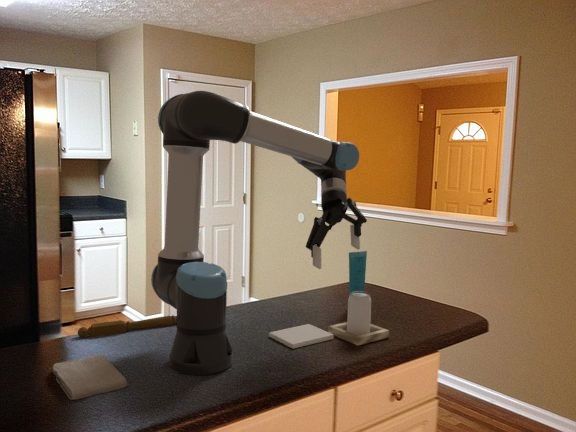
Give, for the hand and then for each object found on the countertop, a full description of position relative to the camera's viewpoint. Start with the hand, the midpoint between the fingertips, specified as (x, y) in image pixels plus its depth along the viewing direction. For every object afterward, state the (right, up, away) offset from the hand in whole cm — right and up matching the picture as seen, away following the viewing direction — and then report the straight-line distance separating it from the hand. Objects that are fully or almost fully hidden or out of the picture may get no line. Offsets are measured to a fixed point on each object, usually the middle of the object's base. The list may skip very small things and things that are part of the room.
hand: (335, 257), depth 138 cm
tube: (+10, -20, +35) cm, 42 cm away
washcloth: (-57, -26, -24) cm, 67 cm away
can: (+7, -23, +9) cm, 26 cm away
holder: (+7, -23, +9) cm, 25 cm away
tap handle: (-56, -22, +9) cm, 61 cm away
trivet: (-9, -23, +6) cm, 25 cm away
